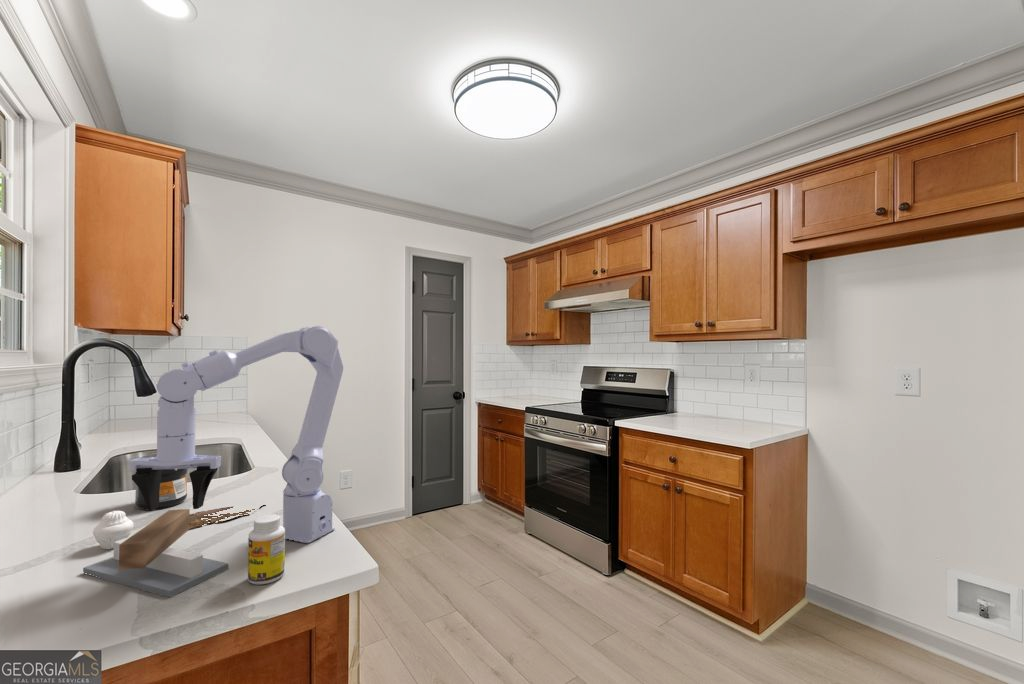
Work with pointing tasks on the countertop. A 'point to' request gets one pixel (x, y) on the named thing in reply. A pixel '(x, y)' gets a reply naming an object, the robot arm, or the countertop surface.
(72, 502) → the countertop surface
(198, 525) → the fossil skeleton slab
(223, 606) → the countertop surface
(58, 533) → the countertop surface
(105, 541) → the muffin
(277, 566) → the supplement bottle
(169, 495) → the supplement container
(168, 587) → the balance stand
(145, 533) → the walnut batten
